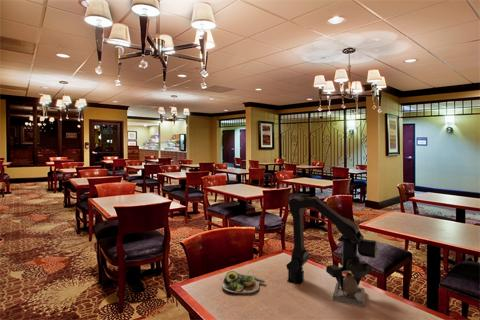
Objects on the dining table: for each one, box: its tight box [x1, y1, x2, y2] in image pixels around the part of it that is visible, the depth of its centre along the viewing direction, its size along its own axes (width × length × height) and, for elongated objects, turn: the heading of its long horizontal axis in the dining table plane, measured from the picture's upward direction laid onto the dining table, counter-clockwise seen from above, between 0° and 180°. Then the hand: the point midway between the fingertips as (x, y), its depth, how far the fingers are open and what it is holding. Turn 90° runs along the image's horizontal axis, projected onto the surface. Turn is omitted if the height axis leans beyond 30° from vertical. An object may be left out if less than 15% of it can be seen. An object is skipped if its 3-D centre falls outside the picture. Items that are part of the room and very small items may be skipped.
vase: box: [342, 272, 359, 296], centre depth 120 cm, size 7×7×9 cm
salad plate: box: [221, 270, 266, 295], centre depth 130 cm, size 19×18×5 cm
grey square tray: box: [331, 282, 366, 308], centre depth 120 cm, size 12×12×2 cm
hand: (348, 288), depth 120 cm, fingers closed on vase, 7 cm apart
